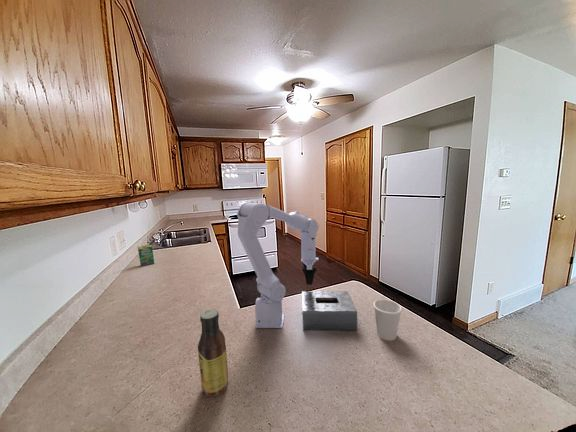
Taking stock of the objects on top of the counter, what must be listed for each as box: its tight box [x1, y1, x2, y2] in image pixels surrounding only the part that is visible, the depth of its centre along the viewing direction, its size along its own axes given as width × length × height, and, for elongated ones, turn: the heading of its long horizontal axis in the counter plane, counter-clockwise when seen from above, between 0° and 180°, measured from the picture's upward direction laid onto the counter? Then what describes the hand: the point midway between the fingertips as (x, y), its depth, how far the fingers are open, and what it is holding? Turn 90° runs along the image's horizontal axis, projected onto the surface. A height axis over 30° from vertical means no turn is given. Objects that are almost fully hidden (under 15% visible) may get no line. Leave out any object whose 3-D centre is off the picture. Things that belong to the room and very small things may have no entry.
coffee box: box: [137, 244, 155, 267], centre depth 146 cm, size 8×3×13 cm, turn 125°
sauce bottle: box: [197, 308, 229, 398], centre depth 53 cm, size 6×6×20 cm
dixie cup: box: [373, 299, 403, 342], centre depth 71 cm, size 8×8×10 cm
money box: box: [301, 290, 358, 332], centre depth 81 cm, size 18×14×7 cm
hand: (308, 280), depth 90 cm, fingers open, 7 cm apart
